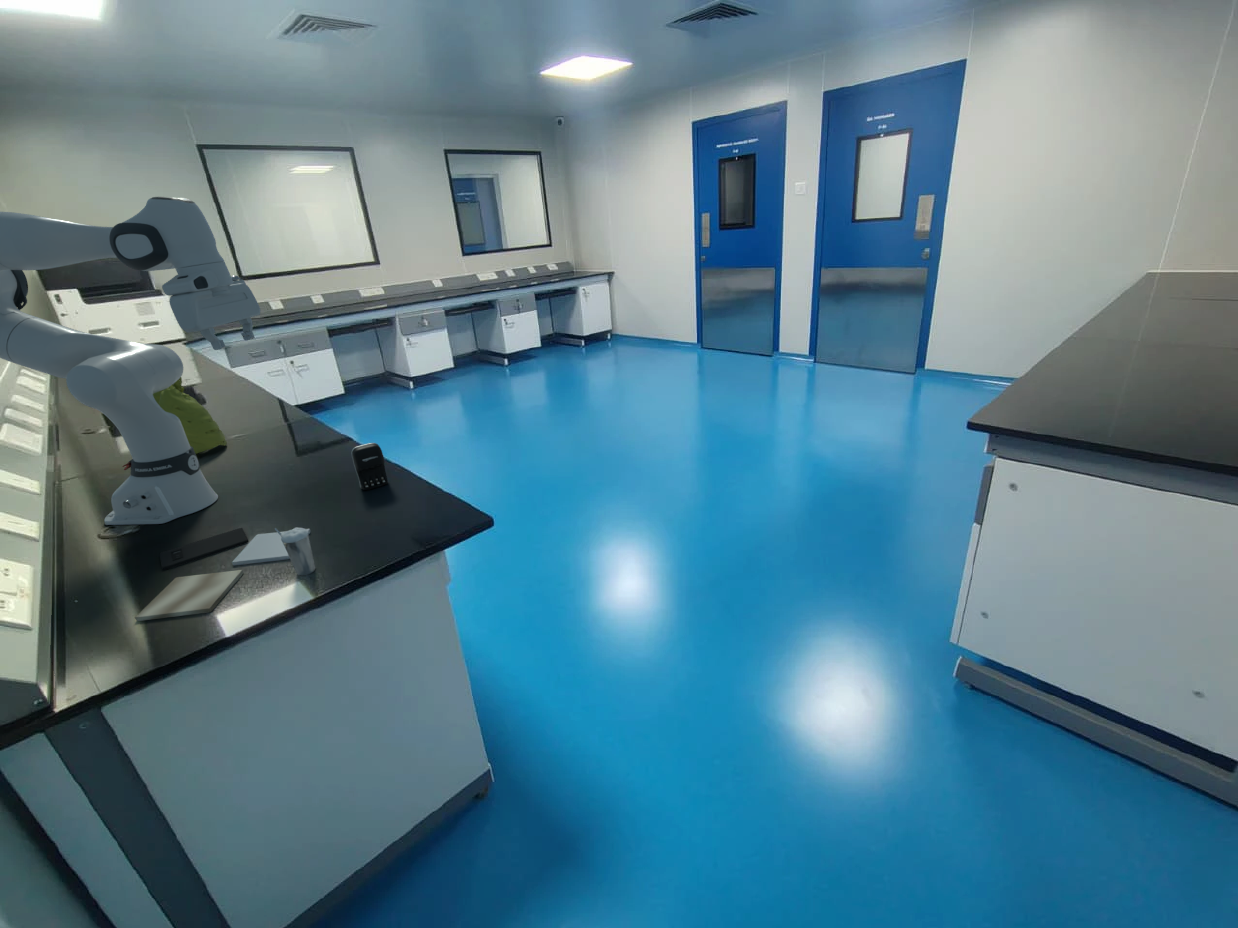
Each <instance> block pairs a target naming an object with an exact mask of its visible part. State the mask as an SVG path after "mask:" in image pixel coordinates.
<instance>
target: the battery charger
mask: <svg viewBox="0 0 1238 928" xmlns="http://www.w3.org/2000/svg"><path fill="white" fill-rule="evenodd" d="M351 458H352V462H353V466H354V469H355V472H356V476H357V479H358V482H359V487H360V489H362V490H364V491H368V490H373V489H377V488H380V487H382V486H386V485H388V483H389V481H388V480H389V479H388V477H387V473H386V467H385V462H386V461H385V457H384V454H383V450H382V448H381V447H380V445H379V444H378V443H376V442H369V443H364V444H361V445H357V446H354V447H353V448H352V449H351Z"/></svg>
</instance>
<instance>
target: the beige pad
mask: <svg viewBox="0 0 1238 928" xmlns="http://www.w3.org/2000/svg"><path fill="white" fill-rule="evenodd" d="M243 574H244V571H243V569H238V570H237V569H236V570H230V571H229V570H227V571H219V572H211V573H203V574H195V575H185V576H178V577H177V576H176V577H175V578H174V579H173V580H172V581H171V582H170V583H169V584H168V585H166V587H164V588H163V590H161V591H160V592H159V593H158V594H157V595H156V596H155V597H154V598H153V599H152V600H151V601H150V602H149V603H148V604H146V606H145V607H144V608H143V609H142V610H141V611H140V612H138V614H137V615H135V617H134V618H135V620H136V622H140V621H141V622H142V621H148V620H156V619H164V618H173V617H180V616H182V617H183V616H191V615H198V614H205V613H206V614H207V613H211V612H212V611H213V610H214V609H215V608H216V607H217V605H218V604H219V603H220V602H221V601H222V599H223V598H224V597H225V596H226V595H227V594H228V592H229V591H230V590H232V588H233V586H234V585H235V584H236V583H237V582H238V580H239V579H240V578H241V577H242V576H243Z"/></svg>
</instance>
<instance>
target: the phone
mask: <svg viewBox="0 0 1238 928" xmlns="http://www.w3.org/2000/svg"><path fill="white" fill-rule="evenodd" d="M249 543H250V541H249V538H248V537H247V534H246V532H245V530H244V528H243V527H239V528H236V529H235V528H234V529H233V530H229V531H227V532H222V533H220V534H216V535H214V536H209V537H207V538H203V539H200V540H196V541H194V542H190V543H188V544H183V545H182V546H177V547H175V548H172V549H168V550H164V551H162V552H159V558H160V559H159V560H160V565H161V568H162V570H163V571H165V570H169V569H173V568H176V567H178V566H181V565H184V564H188V563H191V562H194V561H197V560H200V559H202V558H203V559H204V558H206V557H210V556H212V555H215V554H219V553H221V552H223V551H224V552H225V551H227V550H230V549H233V548H234V549H235V548H236V547H239V546H242V545H244V544H245V545H247V544H249Z"/></svg>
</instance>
